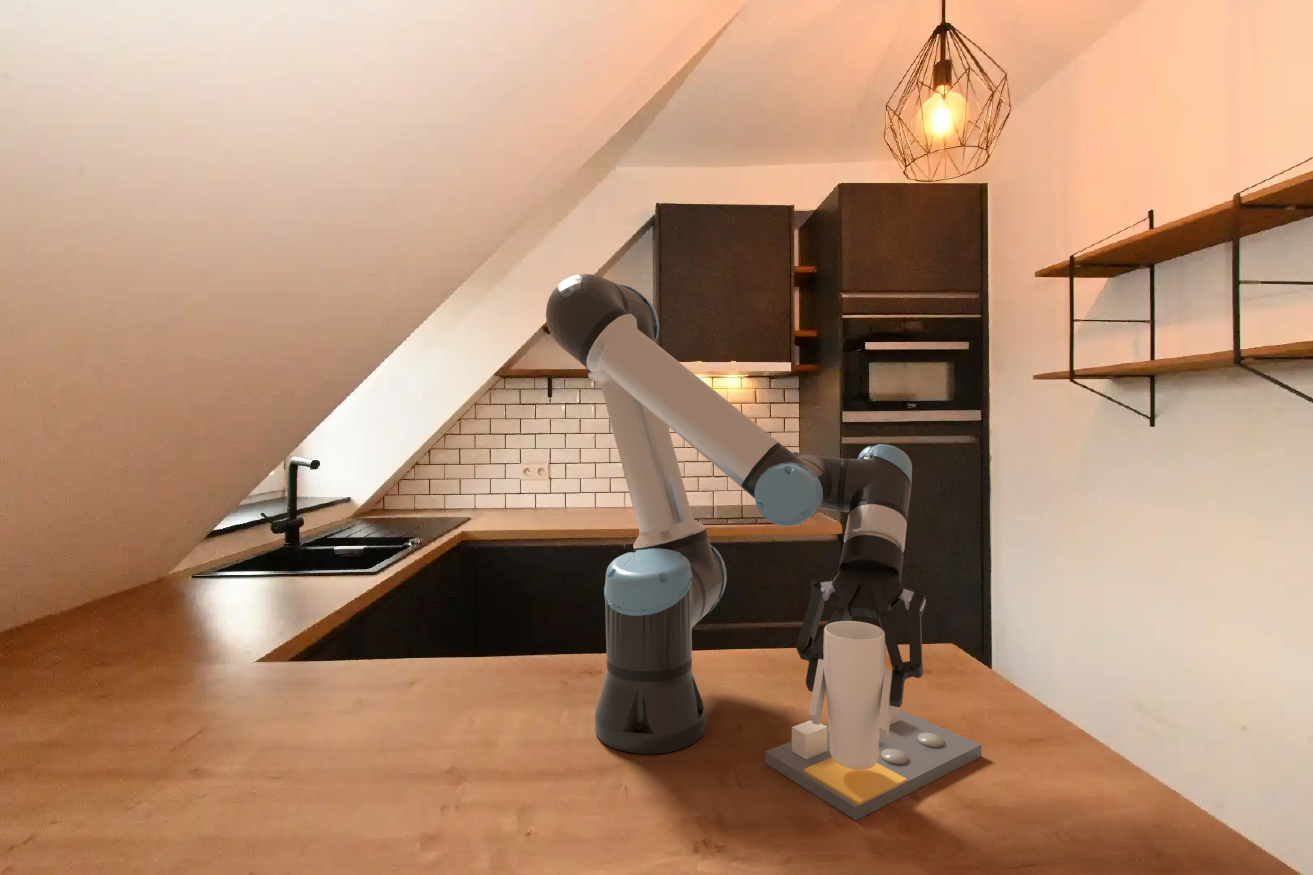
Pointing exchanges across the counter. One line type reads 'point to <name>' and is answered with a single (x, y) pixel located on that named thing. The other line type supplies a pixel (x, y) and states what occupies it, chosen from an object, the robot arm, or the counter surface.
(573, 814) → the counter surface
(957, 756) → the game board
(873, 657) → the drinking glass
